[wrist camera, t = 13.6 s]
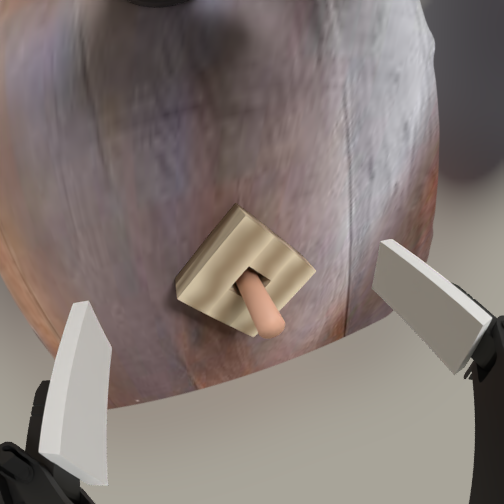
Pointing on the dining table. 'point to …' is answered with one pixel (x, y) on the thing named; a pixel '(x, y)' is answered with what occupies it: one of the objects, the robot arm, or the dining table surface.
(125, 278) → the dining table surface
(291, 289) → the bore block
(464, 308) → the robot arm
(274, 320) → the pin
